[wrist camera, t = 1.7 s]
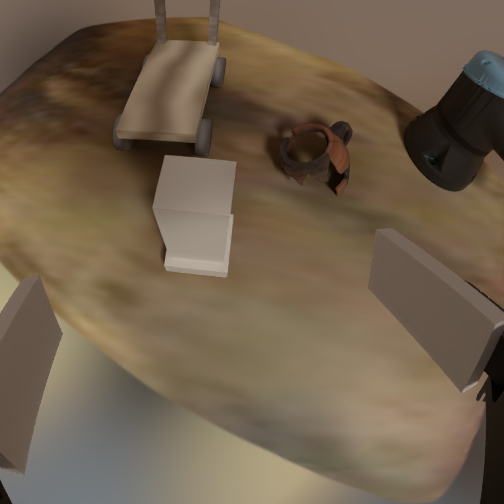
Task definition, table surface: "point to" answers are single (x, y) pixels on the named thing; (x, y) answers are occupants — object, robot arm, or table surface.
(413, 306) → the robot arm
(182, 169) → the grey pillar on base
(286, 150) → the broken clay pot
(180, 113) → the trolley
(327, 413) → the table surface
